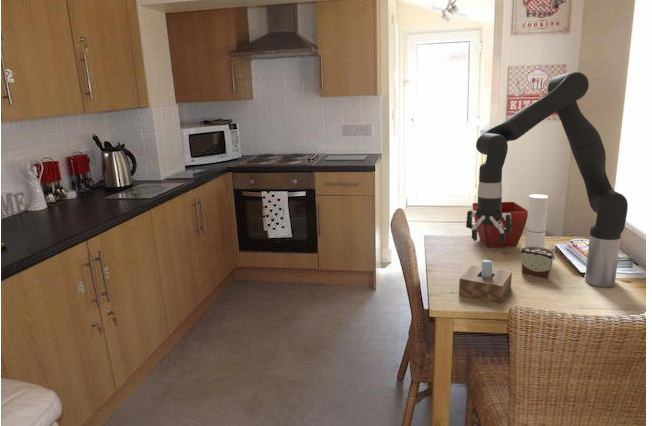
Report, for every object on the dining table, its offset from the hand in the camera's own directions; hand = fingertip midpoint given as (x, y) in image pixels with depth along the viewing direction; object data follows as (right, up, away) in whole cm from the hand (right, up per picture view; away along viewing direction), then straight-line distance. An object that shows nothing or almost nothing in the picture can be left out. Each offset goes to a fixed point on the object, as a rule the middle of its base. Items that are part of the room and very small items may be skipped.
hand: (487, 241), depth 160 cm
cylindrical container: (+32, -8, +38) cm, 50 cm away
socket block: (+1, -17, +5) cm, 18 cm away
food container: (+25, -14, +17) cm, 33 cm away
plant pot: (+23, -4, +54) cm, 59 cm away
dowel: (+1, -17, +4) cm, 17 cm away
